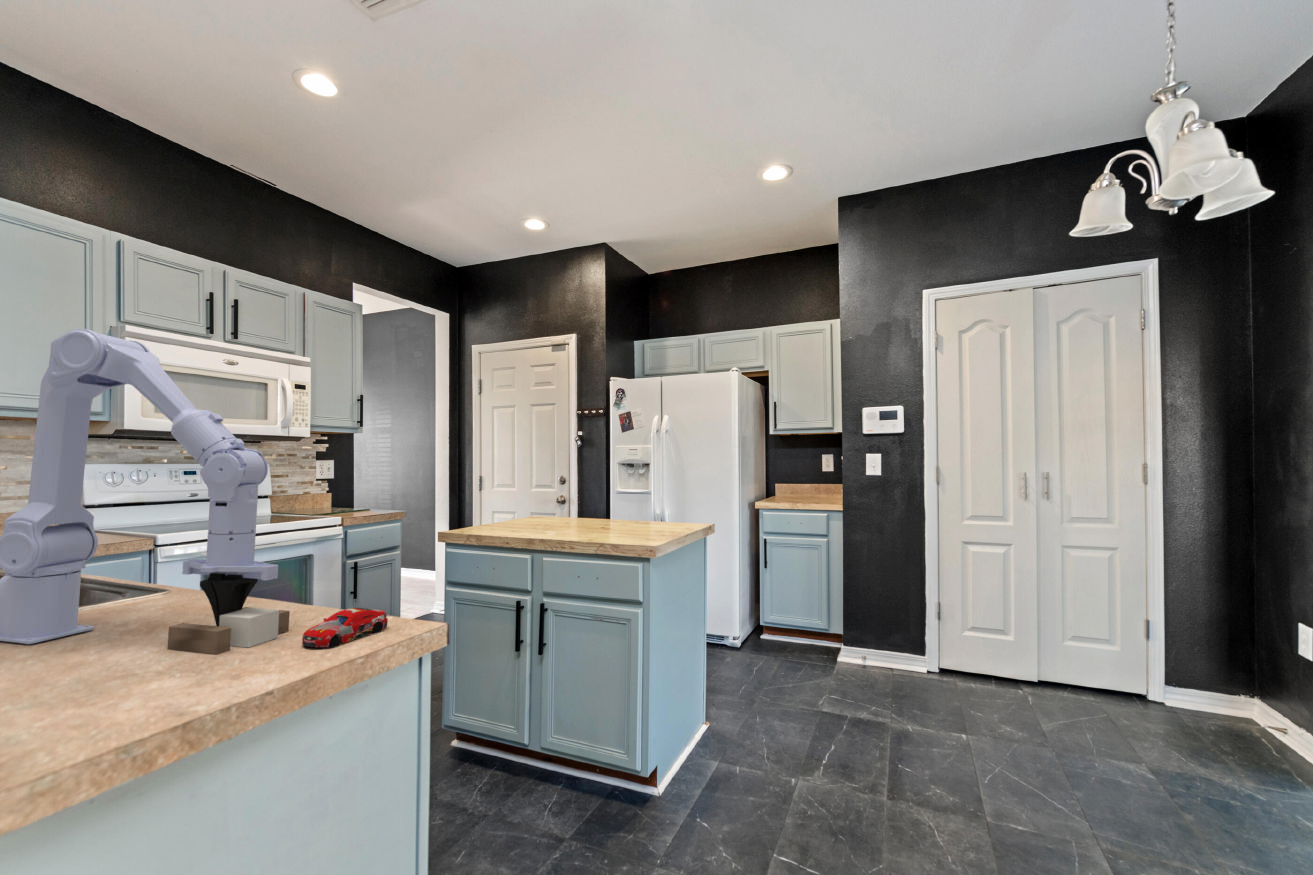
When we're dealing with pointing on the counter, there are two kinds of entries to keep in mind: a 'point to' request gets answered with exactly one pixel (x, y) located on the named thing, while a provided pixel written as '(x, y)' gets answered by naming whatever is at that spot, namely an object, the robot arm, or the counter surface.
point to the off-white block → (251, 626)
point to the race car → (345, 627)
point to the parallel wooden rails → (209, 636)
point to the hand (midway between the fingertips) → (226, 627)
